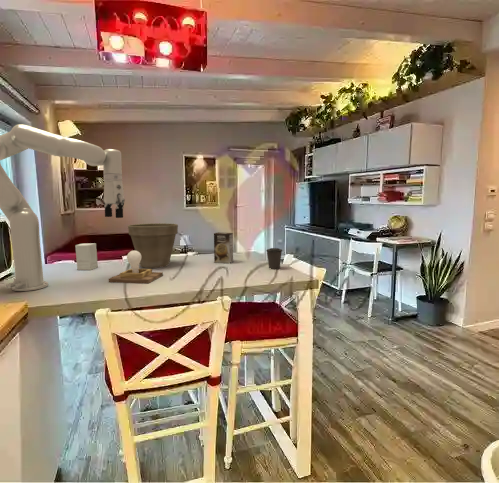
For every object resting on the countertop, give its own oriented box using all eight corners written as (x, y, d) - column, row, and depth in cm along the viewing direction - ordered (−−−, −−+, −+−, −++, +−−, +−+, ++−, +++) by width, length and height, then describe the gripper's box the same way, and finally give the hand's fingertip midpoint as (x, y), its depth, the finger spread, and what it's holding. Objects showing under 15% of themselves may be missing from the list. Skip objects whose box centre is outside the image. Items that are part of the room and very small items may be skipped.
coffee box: (213, 262, 195) (213, 233, 192) (218, 260, 201) (217, 232, 199) (229, 263, 192) (229, 233, 190) (233, 261, 198) (233, 232, 196)
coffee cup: (285, 269, 176) (285, 248, 175) (270, 270, 173) (270, 250, 172) (278, 266, 184) (278, 246, 183) (263, 267, 181) (263, 247, 180)
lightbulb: (128, 274, 162) (126, 250, 160) (143, 272, 163) (140, 249, 162) (128, 277, 156) (125, 252, 155) (142, 275, 158) (140, 250, 156)
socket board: (148, 283, 150) (147, 275, 150) (108, 282, 153) (108, 274, 153) (162, 275, 165) (162, 268, 165) (126, 274, 168) (126, 267, 168)
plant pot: (162, 259, 207) (161, 221, 204) (188, 264, 190) (187, 223, 187) (121, 265, 189) (119, 224, 186) (145, 272, 172) (143, 227, 169)
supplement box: (98, 267, 186) (96, 243, 185) (90, 270, 179) (88, 245, 177) (84, 267, 187) (83, 243, 185) (76, 270, 180) (74, 245, 178)
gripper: (131, 178, 155) (131, 217, 157) (111, 179, 167) (112, 216, 169) (114, 177, 150) (115, 218, 152) (95, 178, 161) (96, 216, 163)
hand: (113, 217), depth 160 cm, fingers open, 9 cm apart
